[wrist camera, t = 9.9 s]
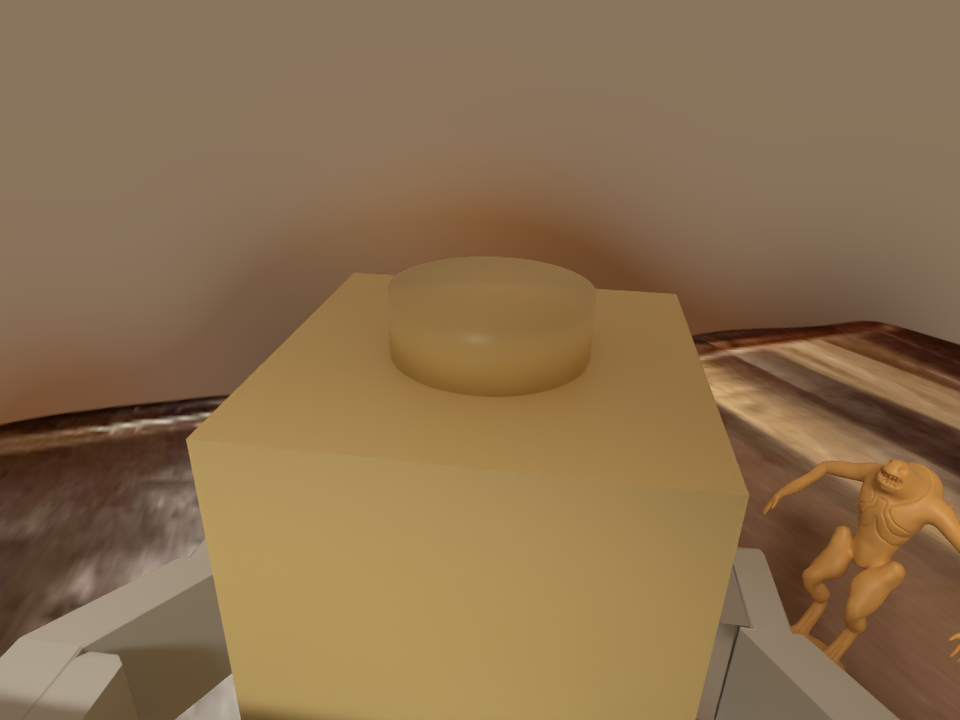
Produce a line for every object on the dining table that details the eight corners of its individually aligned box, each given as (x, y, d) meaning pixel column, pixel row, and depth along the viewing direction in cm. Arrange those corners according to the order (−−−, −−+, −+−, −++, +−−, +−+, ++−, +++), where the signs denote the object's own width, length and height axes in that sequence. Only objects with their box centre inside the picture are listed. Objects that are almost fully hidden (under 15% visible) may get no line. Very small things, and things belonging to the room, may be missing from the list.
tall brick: (286, 949, 10) (170, 361, 6) (378, 669, 15) (351, 222, 10) (624, 1014, 9) (769, 412, 5) (612, 702, 14) (684, 242, 10)
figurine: (675, 656, 30) (726, 424, 24) (774, 613, 32) (839, 394, 27) (836, 840, 23) (953, 574, 18) (946, 768, 25) (1077, 516, 20)
